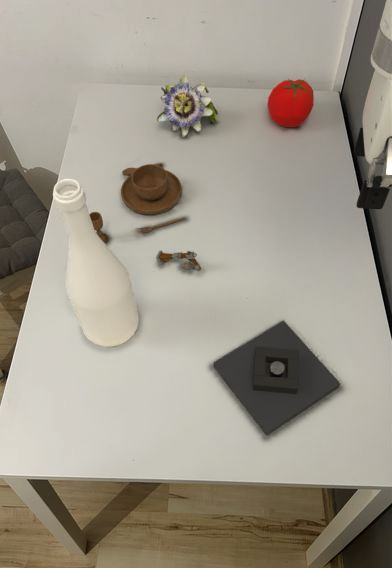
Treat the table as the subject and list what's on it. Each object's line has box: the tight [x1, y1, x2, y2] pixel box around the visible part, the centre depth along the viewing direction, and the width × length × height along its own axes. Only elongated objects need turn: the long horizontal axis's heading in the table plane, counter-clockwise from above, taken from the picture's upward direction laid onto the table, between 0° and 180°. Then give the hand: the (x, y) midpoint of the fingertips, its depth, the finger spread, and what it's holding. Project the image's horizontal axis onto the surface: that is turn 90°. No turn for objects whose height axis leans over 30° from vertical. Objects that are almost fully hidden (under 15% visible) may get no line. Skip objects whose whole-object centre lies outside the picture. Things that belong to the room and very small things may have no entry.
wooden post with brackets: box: [155, 249, 202, 272], centre depth 89 cm, size 2×8×4 cm, turn 69°
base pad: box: [213, 319, 341, 436], centre depth 77 cm, size 14×14×3 cm
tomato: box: [266, 78, 315, 128], centre depth 106 cm, size 9×10×8 cm
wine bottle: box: [52, 178, 140, 348], centre depth 71 cm, size 10×10×30 cm
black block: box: [253, 347, 299, 394], centre depth 77 cm, size 7×7×2 cm
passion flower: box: [156, 74, 219, 138], centre depth 107 cm, size 11×11×12 cm
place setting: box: [89, 162, 186, 244], centre depth 96 cm, size 18×20×6 cm
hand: (366, 180), depth 66 cm, fingers open, 9 cm apart
